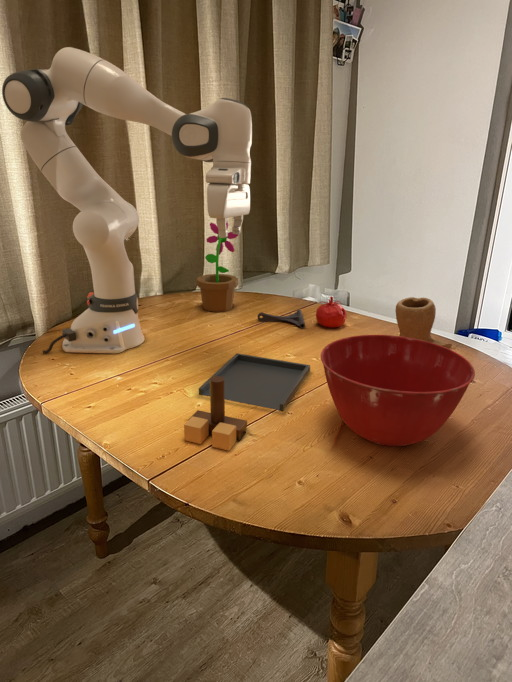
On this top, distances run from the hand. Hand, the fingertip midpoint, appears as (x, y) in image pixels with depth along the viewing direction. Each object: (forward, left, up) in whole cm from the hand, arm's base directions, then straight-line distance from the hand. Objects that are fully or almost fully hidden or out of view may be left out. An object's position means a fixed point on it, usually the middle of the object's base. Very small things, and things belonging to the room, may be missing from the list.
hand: (229, 235), depth 121 cm
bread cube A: (-6, -40, -33) cm, 52 cm away
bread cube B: (-11, -37, -33) cm, 50 cm away
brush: (-6, -35, -33) cm, 48 cm away
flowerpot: (+1, +47, -33) cm, 57 cm away
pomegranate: (+35, +24, -33) cm, 53 cm away
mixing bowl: (+28, -38, -33) cm, 58 cm away
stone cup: (+53, 0, -33) cm, 62 cm away
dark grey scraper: (+20, +30, -33) cm, 48 cm away
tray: (+5, -15, -33) cm, 37 cm away
